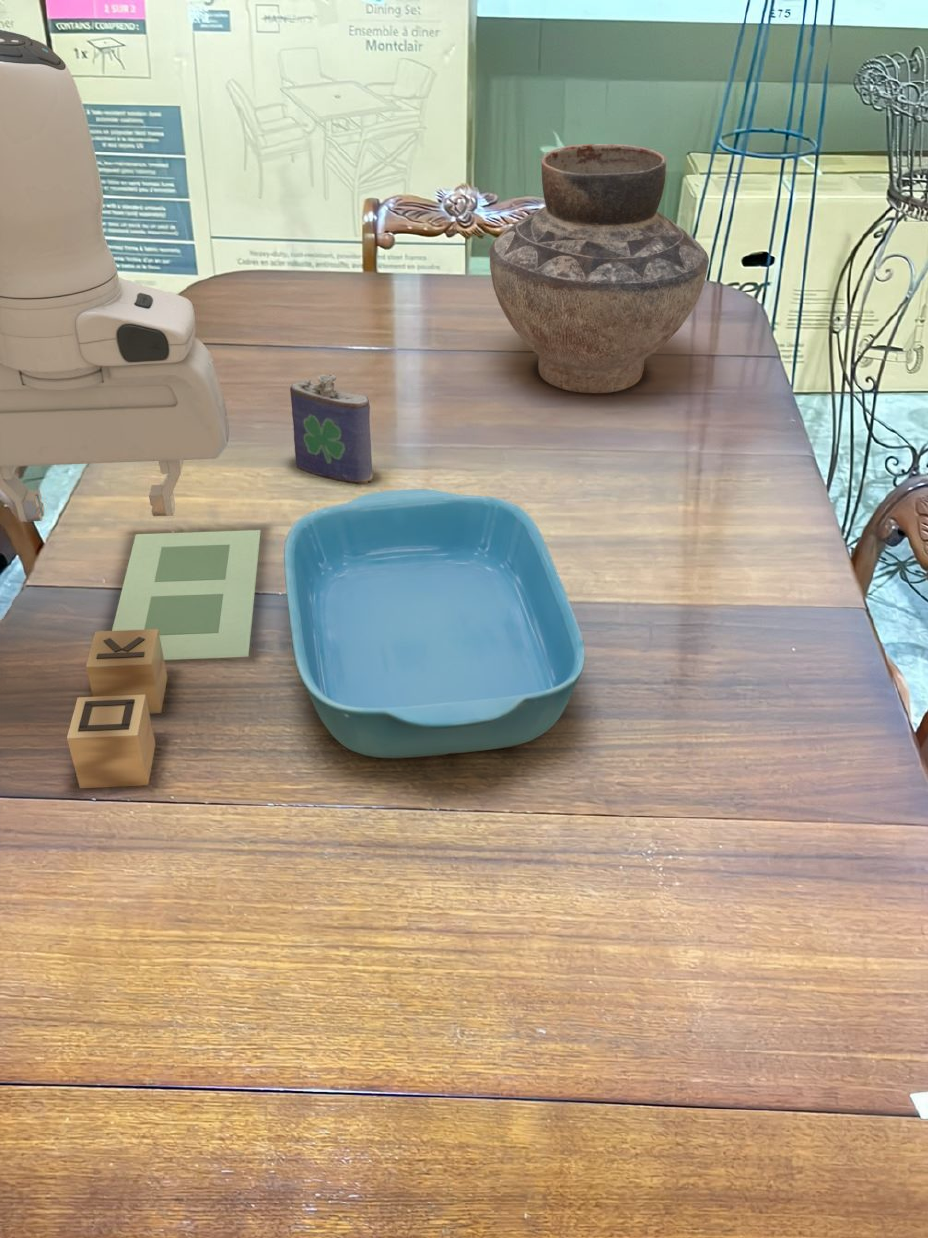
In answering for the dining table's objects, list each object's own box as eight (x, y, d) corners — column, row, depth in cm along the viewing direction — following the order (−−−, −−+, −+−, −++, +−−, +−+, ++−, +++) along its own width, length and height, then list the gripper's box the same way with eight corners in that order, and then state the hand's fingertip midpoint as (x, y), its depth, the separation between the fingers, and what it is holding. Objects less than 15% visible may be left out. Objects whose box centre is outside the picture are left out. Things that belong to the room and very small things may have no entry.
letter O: (80, 791, 92) (66, 736, 89) (90, 750, 96) (77, 696, 93) (149, 788, 93) (137, 733, 89) (156, 747, 96) (145, 693, 93)
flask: (378, 480, 130) (372, 378, 123) (362, 491, 129) (356, 389, 121) (304, 460, 134) (295, 361, 127) (288, 471, 132) (278, 370, 125)
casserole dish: (283, 560, 118) (276, 490, 113) (516, 543, 121) (518, 473, 116) (309, 813, 91) (300, 735, 86) (608, 783, 93) (616, 706, 89)
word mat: (104, 666, 105) (103, 661, 104) (136, 537, 121) (135, 533, 121) (249, 660, 105) (248, 655, 105) (261, 533, 122) (260, 529, 122)
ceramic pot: (445, 377, 151) (443, 159, 135) (570, 321, 165) (582, 118, 149) (613, 436, 139) (633, 204, 123) (733, 371, 153) (765, 155, 137)
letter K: (98, 719, 99) (85, 665, 96) (106, 682, 103) (94, 630, 100) (161, 716, 99) (151, 662, 96) (168, 680, 103) (158, 627, 100)
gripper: (-120, 345, 79) (-58, 542, 88) (208, 334, 80) (235, 530, 89) (-94, 309, 83) (-38, 500, 93) (215, 300, 84) (240, 489, 94)
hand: (98, 515), depth 91 cm, fingers open, 8 cm apart
